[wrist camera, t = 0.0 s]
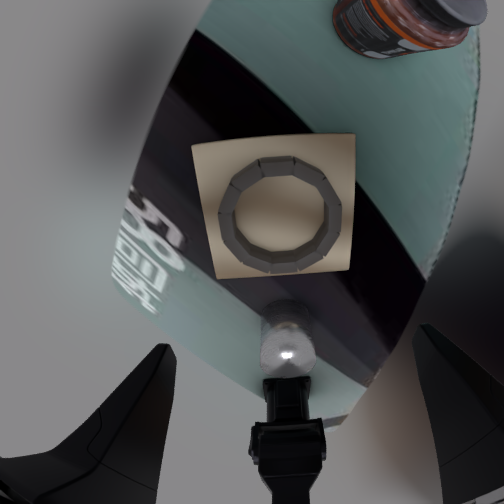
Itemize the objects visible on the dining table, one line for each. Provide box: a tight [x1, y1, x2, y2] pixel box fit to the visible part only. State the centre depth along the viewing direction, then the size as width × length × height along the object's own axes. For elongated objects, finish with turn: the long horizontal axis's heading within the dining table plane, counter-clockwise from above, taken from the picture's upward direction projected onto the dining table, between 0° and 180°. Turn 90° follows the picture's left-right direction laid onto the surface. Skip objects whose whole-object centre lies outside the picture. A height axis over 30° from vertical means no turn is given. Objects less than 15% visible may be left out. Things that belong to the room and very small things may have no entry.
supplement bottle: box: [333, 0, 487, 59], centre depth 9 cm, size 6×6×11 cm
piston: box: [260, 299, 316, 378], centre depth 26 cm, size 5×5×6 cm
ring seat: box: [191, 133, 355, 279], centre depth 21 cm, size 12×12×2 cm
